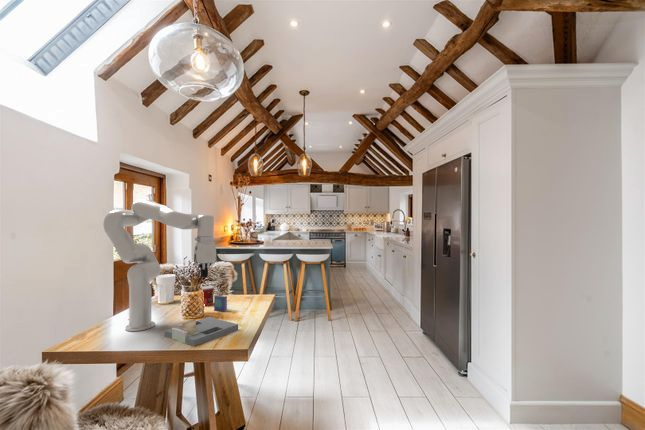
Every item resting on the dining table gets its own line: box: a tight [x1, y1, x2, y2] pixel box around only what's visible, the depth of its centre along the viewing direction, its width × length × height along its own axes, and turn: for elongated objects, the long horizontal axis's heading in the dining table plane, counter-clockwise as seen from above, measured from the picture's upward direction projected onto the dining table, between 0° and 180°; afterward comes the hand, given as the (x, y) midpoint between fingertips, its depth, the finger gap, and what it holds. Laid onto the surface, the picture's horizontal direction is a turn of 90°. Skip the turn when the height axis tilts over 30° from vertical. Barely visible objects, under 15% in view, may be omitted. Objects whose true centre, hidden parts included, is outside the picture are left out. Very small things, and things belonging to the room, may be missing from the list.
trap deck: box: [163, 316, 239, 347], centre depth 147 cm, size 22×24×4 cm
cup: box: [155, 273, 177, 305], centre depth 202 cm, size 11×11×17 cm
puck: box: [181, 319, 197, 335], centre depth 140 cm, size 6×6×5 cm
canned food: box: [201, 285, 214, 307], centre depth 196 cm, size 8×8×11 cm
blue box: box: [213, 292, 228, 313], centre depth 183 cm, size 9×3×11 cm, turn 63°
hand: (204, 276), depth 154 cm, fingers closed
